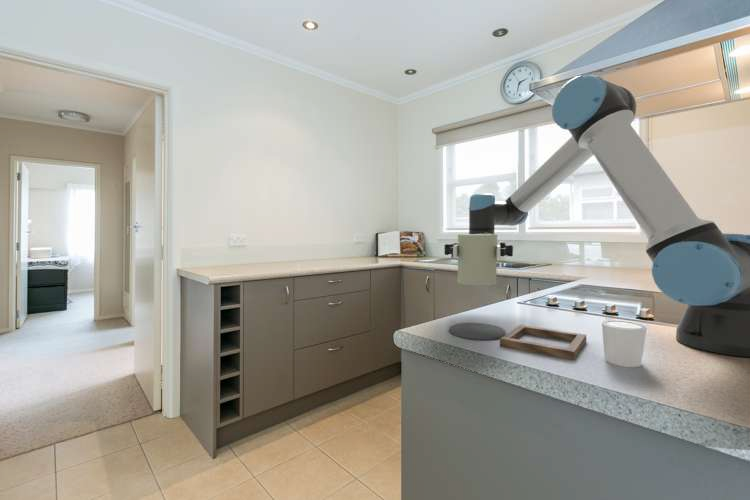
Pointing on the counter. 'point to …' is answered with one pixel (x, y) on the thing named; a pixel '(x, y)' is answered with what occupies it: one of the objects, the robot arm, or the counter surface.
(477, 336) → the mat
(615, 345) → the shot glass
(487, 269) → the can
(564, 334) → the pocket
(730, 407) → the counter surface
